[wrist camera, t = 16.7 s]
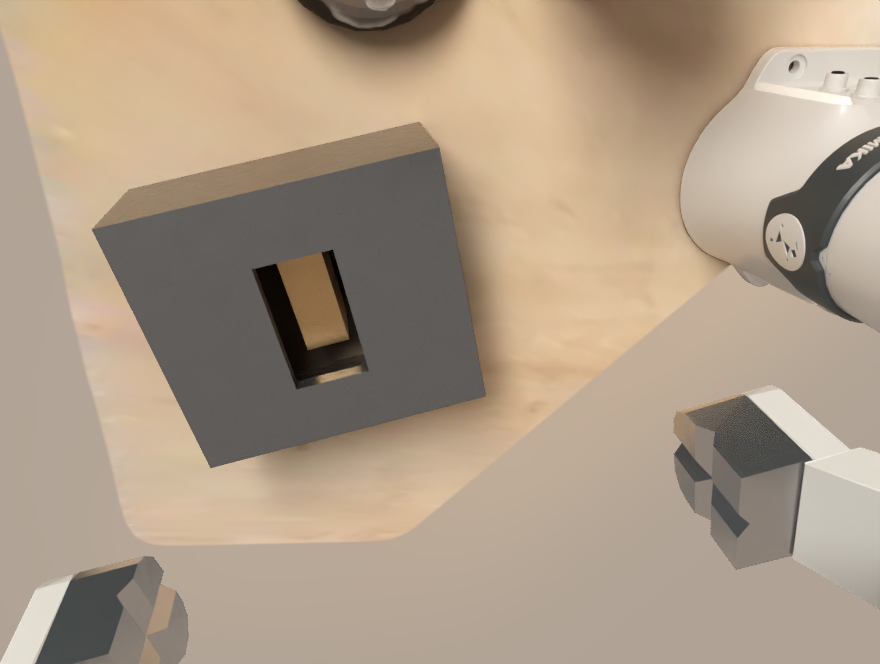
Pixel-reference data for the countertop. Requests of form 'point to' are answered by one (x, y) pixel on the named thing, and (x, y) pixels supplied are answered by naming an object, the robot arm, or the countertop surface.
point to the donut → (367, 12)
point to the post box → (285, 238)
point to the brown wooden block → (315, 299)
